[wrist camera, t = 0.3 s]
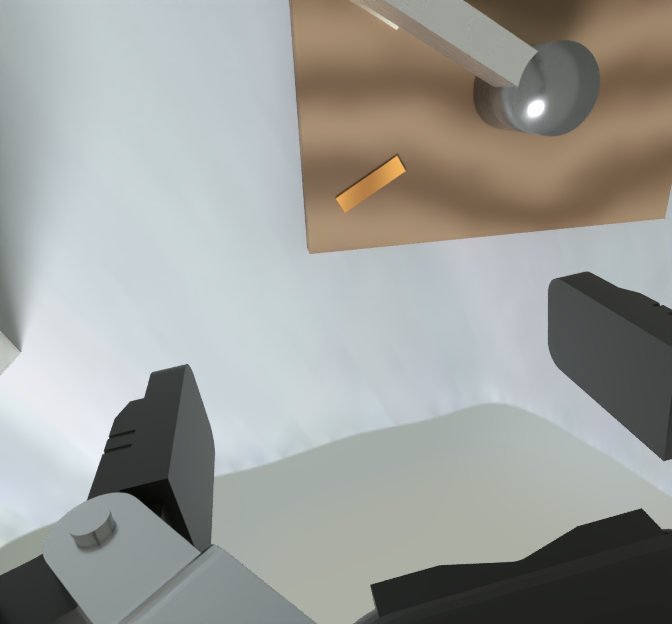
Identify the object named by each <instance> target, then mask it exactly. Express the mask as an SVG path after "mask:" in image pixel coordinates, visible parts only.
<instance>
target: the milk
mask: <svg viewBox="0 0 672 624" xmlns="http://www.w3.org/2000/svg"><path fill="white" fill-rule="evenodd" d="M20 354H21V352H20V351H19V350H18V349H17V348H16V347H15V346H14V345H13V344H12V343H11V342H10V340H9V339H8V338H7V337H6V336H5V335H4V334H3V333H2V332H1V331H0V375H1V374H2V373H3V372H4V371H5V370H6V369H7V368H8V367H9V366H10V364H11V363H12V362H13V361H14V360H15V359H16V358H17V357H18V356H19V355H20Z"/></svg>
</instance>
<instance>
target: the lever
mask: <svg viewBox="0 0 672 624" xmlns="http://www.w3.org/2000/svg"><path fill="white" fill-rule="evenodd" d="M357 1H359V2H361V3H362V4H364V5H365V6H367V7H369V8H370V9H372V10H373V11H375V12H376V13H378V14H380V15H381V16H383V17H384V18H386V19H387V20H389V21H391V22H392V23H394V24H395V25H397V26H398V27H400V28H402V29H403V30H405V31H406V32H408V33H410V34H411V35H413V36H414V37H416V38H417V39H419V40H421V41H422V42H424V43H425V44H427V45H428V46H430V47H432V48H433V49H435V50H436V51H438V52H440V53H441V54H443V55H444V56H446V57H447V58H449V59H451V60H452V61H454V62H455V63H457V64H458V65H460V66H462V67H463V68H465V69H466V70H468V71H469V72H471V73H473V74H474V75H476V76H477V77H476V80H475V83H474V90H473V99H474V104H475V108H476V110H477V113H478V114H479V116H480V117H481V119H482V120H483V121H484V122H485V123H486V124H488V125H489V126H491V127H494V128H497V129H503V130H509V131H516V132H523V133H529V134H536V135H542V136H560V135H564V134H566V133H568V132H570V131H572V130H574V129H575V128H577V127H578V126H579V125H580V124H581V123H582V122H583V121H584V120H585V119H586V118H587V117H588V115H589V114H590V112H591V111H592V109H593V107H594V105H595V103H596V100H597V97H598V93H599V88H600V73H599V68H598V64H597V62H596V59H595V57H594V56H593V54H592V53H591V52H590V51H589V49H587V48H586V47H585V46H584V45H582V44H580V43H578V42H575V41H570V40H562V41H555V42H548V43H541V44H534V45H528V44H527V43H525V42H524V41H522V40H521V39H519V38H518V37H516V36H515V35H513V34H512V33H510V32H509V31H508V30H506V29H505V28H503V27H502V26H500V25H499V24H497V23H496V22H494V21H493V20H492V19H490V18H489V17H487V16H486V15H484V14H483V13H481V12H480V11H478V10H477V9H475V8H474V7H473V6H471V5H470V4H468V3H467V2H465V1H464V0H357Z"/></svg>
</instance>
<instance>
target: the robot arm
mask: <svg viewBox="0 0 672 624" xmlns="http://www.w3.org/2000/svg"><path fill="white" fill-rule="evenodd" d="M548 346H549V351H550V354H551V357H552V359H553V361H554V363H555V364H556V366H557V367H558V368H559V369H560V370H561V371H562V372H563V373H564V374H566V375H567V376H568V377H569V378H570V379H571V380H572V381H573V382H575V383H576V384H577V385H578V386H579V387H580V388H581V389H583V390H584V391H585V392H586V393H587V394H588V395H589V396H590V397H592V398H593V399H594V400H595V401H596V402H597V403H598V404H600V405H601V406H602V407H603V408H604V409H605V410H606V411H607V412H609V413H610V414H611V415H612V416H613V417H614V418H615V419H617V420H618V421H619V422H620V423H621V424H622V425H623V426H624V427H626V428H627V429H628V430H629V431H630V432H631V433H632V434H634V435H635V436H636V437H637V438H638V439H639V440H640V441H641V442H643V443H644V444H645V445H646V446H647V447H648V448H649V449H651V450H652V451H653V452H654V453H655V454H656V455H657V456H658V457H660V458H661V459H662V460H663V461H666V460H670V459H672V309H670V308H668V307H666V306H664V305H662V306H660V304H659V303H658V302H656V301H654V300H652V299H650V298H649V297H647V296H645V295H643V294H641V293H638V292H634V291H630V290H626V289H622V288H618V287H617V286H615V285H613V284H611V283H609V282H607V281H605V280H604V279H602V278H600V277H598V276H596V275H594V274H592V273H590V272H582V273H578V274H573V275H569V276H565V277H561V278H556V279H553V280H552V281H551V283H550V285H549V289H548ZM104 453H105V454H103V455H102V458H101V461H100V463H99V466H98V469H97V472H96V475H95V478H94V481H93V484H92V487H91V490H90V493H89V496H88V499H87V501H86V502H84V503H82V504H80V505H78V506H77V507H75V508H74V509H72V510H71V511H69V512H68V513H67V514H66V515H64V516H63V517H62V518H61V519H60V520H59V521H58V522H57V523H56V524H55V525H54V527H53V528H52V529H51V531H50V532H49V534H48V536H47V537H46V539H45V542H44V545H43V554H41V555H40V556H38V557H36V558H34V559H33V560H31V561H29V562H27V563H25V564H23V565H21V566H19V567H17V568H15V569H13V570H10V571H9V572H7V573H4V574H2V575H0V624H316V623H315V622H314V621H313V620H312V619H310V618H309V617H308V616H307V615H305V614H304V613H303V612H302V611H300V610H299V609H298V608H297V607H295V606H294V605H293V604H292V603H290V602H289V601H288V600H287V599H285V598H284V597H283V596H282V595H280V594H279V593H278V592H277V591H275V590H274V589H273V588H272V587H270V586H269V585H268V584H267V583H265V582H264V581H263V580H262V579H260V578H259V577H258V576H257V575H255V574H254V573H253V572H252V571H250V570H249V569H248V568H247V567H245V566H244V565H243V564H241V563H240V562H239V561H238V560H237V559H235V558H234V557H233V556H232V555H230V554H229V553H228V552H227V551H225V550H224V549H223V548H221V547H219V546H218V545H214V544H211V530H212V508H213V483H214V461H215V448H214V440H213V435H212V430H211V426H210V423H209V420H208V417H207V414H206V411H205V408H204V405H203V402H202V399H201V396H200V393H199V390H198V387H197V384H196V381H195V378H194V375H193V372H192V370H191V368H190V366H189V365H188V364H185V365H181V366H177V367H173V368H168V369H164V370H160V371H155V372H152V373H151V375H150V378H149V382H148V386H147V390H146V393H145V397H144V398H143V399H138V400H134V401H130V402H129V403H128V405H127V406H126V407H125V408H124V409H123V410H122V411H121V412H120V413H119V415H118V416H117V417H116V418H115V420H114V423H113V425H112V428H111V431H110V434H109V439H108V440H107V443H106V446H105V449H104ZM371 590H372V596H373V601H374V605H375V610H373V611H371V612H370V613H368V614H366V615H364V616H363V617H362V618H360V619H359V620H358V621H356V622H355V623H354V624H672V529H661V528H660V527H659V526H658V525H657V524H656V523H655V522H654V521H653V520H652V519H651V518H650V517H649V515H648V514H647V513H646V512H645V511H644V510H643V509H642V508H641V509H638V510H634V511H631V512H627V513H624V514H620V515H617V516H613V517H609V518H606V519H602V520H599V521H596V522H592V523H588V524H584V525H581V526H577V527H576V528H574V529H572V530H571V531H569V532H567V533H566V534H564V535H563V536H561V537H559V538H557V539H556V540H554V541H553V542H551V543H549V544H548V545H546V546H544V547H543V548H541V549H539V550H538V551H536V552H534V553H533V554H531V555H529V556H528V557H526V558H524V559H522V560H519V561H515V562H501V563H479V564H457V565H439V566H436V567H432V568H428V569H425V570H421V571H418V572H414V573H410V574H407V575H403V576H400V577H396V578H393V579H389V580H386V581H382V582H379V583H375V584H372V585H371Z"/></svg>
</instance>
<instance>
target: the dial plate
mask: <svg viewBox="0 0 672 624" xmlns="http://www.w3.org/2000/svg"><path fill="white" fill-rule="evenodd" d="M464 1H465V2H467V3H468V4H470V5H471V6H473V7H474V8H475V9H477V10H478V11H480V12H481V13H483V14H484V15H486V16H487V17H489V18H490V19H492V20H493V21H494V22H496V23H497V24H499V25H500V26H502V27H503V28H505V29H506V30H508V31H509V32H510V33H512V34H513V35H515V36H516V37H518V38H519V39H521V40H522V41H524V42H525V43H527V44H528V45H534V44H541V43H548V42H555V41H562V40H570V41H575V42H578V43H580V44H582V45H584V46H585V47H586V48H587V49H589V51H590V52H591V53H592V54H593V56H594V57H595V59H596V62H597V64H598V68H599V73H600V88H599V93H598V97H597V100H596V103H595V105H594V107H593V109H592V111H591V112H590V114H589V115H588V117H587V118H586V119H585V120H584V121H583V122H582V123H581V124H580V125H579V126H578V127H577V128H575V129H574V130H572V131H570V132H568V133H566V134H564V135H560V136H542V135H536V134H529V133H523V132H516V131H509V130H503V129H497V128H494V127H491V126H489V125H488V124H486V123H485V122H484V121H483V120H482V119H481V117H480V116H479V114H478V113H477V110H476V108H475V104H474V99H473V90H474V83H475V80H476V77H477V76H476V75H474V74H473V73H471V72H469V71H468V70H466V69H465V68H463V67H462V66H460V65H458V64H457V63H455V62H454V61H452V60H451V59H449V58H447V57H446V56H444V55H443V54H441V53H440V52H438V51H436V50H435V49H433V48H432V47H430V46H428V45H427V44H425V43H424V42H422V41H421V40H419V39H417V38H416V37H414V36H413V35H411V34H410V33H408V32H406V31H405V30H403V29H402V28H400V27H398V26H397V25H395V24H394V23H392V22H391V21H389V20H387V19H386V18H384V17H383V16H381V15H380V14H378V13H376V12H375V11H373V10H372V9H370V8H369V7H367V6H365V5H364V4H362V3H361V2H359V1H357V0H289V5H290V18H291V32H292V45H293V59H294V73H295V86H296V100H297V114H298V127H299V141H300V154H301V168H302V182H303V195H304V209H305V223H306V236H307V248H308V251H309V253H310V254H314V253H324V252H334V251H344V250H354V249H364V248H374V247H384V246H394V245H404V244H414V243H424V242H434V241H444V240H454V239H464V238H474V237H484V236H494V235H504V234H514V233H524V232H534V231H544V230H554V229H564V228H574V227H584V226H594V225H604V224H613V223H623V222H633V221H643V220H653V219H663V218H665V215H666V210H667V205H668V200H669V195H670V190H671V184H672V0H464Z"/></svg>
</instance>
